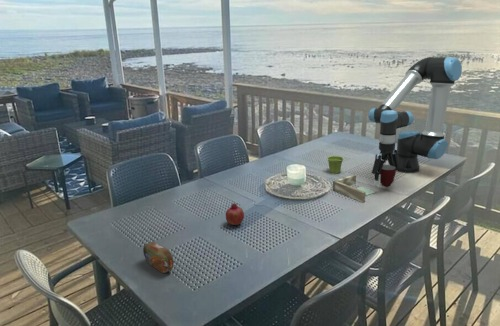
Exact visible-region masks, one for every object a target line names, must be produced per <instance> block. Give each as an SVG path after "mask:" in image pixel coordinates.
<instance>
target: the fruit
mask: <svg viewBox="0 0 500 326" xmlns="http://www.w3.org/2000/svg"><path fill="white" fill-rule="evenodd" d="M244 218H245V212H244V210H243V208H242V207H240V206H238V204H237V203H232V204H231V206H230V207H229V208H228V209H226V211H225V220H226V223H228V224H230V225H233V226H237V225H239V224H241V223H242V222H243V221H244Z"/></svg>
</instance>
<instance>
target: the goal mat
mask: <svg viewBox="0 0 500 326" xmlns="http://www.w3.org/2000/svg"><path fill="white" fill-rule="evenodd" d="M355 188H356V189H359V190H361V191H364V192H366V196H369V195H372V194H374V193H376V191H374V190H372V189H369V188H367V187H364V186H358V187H355ZM366 196H365V197H366Z"/></svg>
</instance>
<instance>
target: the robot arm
mask: <svg viewBox="0 0 500 326" xmlns="http://www.w3.org/2000/svg"><path fill="white" fill-rule="evenodd" d="M462 70H463V67H462V63H461V61H460V59H459V58H458V57H453V56H428V57H425V58H422V59H420V60H418V61H416V63H414V64H412V65H411V66H410V67H409V68H408V69H407V70H406V72H405V75H404V77H403V78H402V79H401V80H400V81H399V83H398V84H397V85H396V86H395V88H394V89H393V90H392V91H391V92H390V94H389V95H388V96H387V97H386V98H385V99H384V101H383V102H381V104H380V105H379V106H378V107H373V108H371V109H370V110H369V112H368V120H369V121H370V122H372V123H375V124H380V125H379V126H380V127H379V142H378V150H379V151H380V152H379V154H377V153H376V154H375V155H374V156H375V157H374V159H375V160H374V164H373V166H372V170H371V174H373V175H374V178H373V179H374V186H375V187H377V188H378V187H381V183H380V176H381V175H380V172H381V169H382V167H383V165H385V163H386V162H388V165H391V166H395V167H396V172H400V173H408V174H409V173H410V174H412V173H418V172H419V171H420V163H419V157H418V156H420V157H424V158H427V159H432V160H438V159H441V158H442V157H443V156H444V155H445V153H446V151H447V149H448V144H449V143H448V141H447V139H445V136H446V135H445V134H444V133H443V128H444V124H445V118H446V113H447V112H446V111H447V107H448V103H449V97H450V91H451V87H453V86H454V85H455V82H456V81H458V80H460V78H461V76H462V72H463V71H462ZM425 80H430V81H429V84H430V85H431V86H432V87H431V93H430V97H429V98H430V99H429V105H428V110H427V115H426V122H425V126H424V127H425V128H424V130H422V132H421V131H420V130H404V131H400V132H399V133H398V134H397V129H401V128H405V127H408V126H410V125H412V124H413V123H414V115H413V114H414V113H412V112H411V111H410V110H403V111H397V108H398V107H399V106H400V105H401V103H402V102H403V101H404V100H405V99H406V98H407V97H408V95H409V94H410V93H411V92H412V91H413V89H414V88H415V87H416V86H417V85H418V84H421V82H423V81H425ZM397 135H398V136H397ZM396 137H397V138H396ZM396 139H397V140H396ZM396 141H397V144H396ZM394 181H395V179H394V180H393V182H394Z"/></svg>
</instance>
